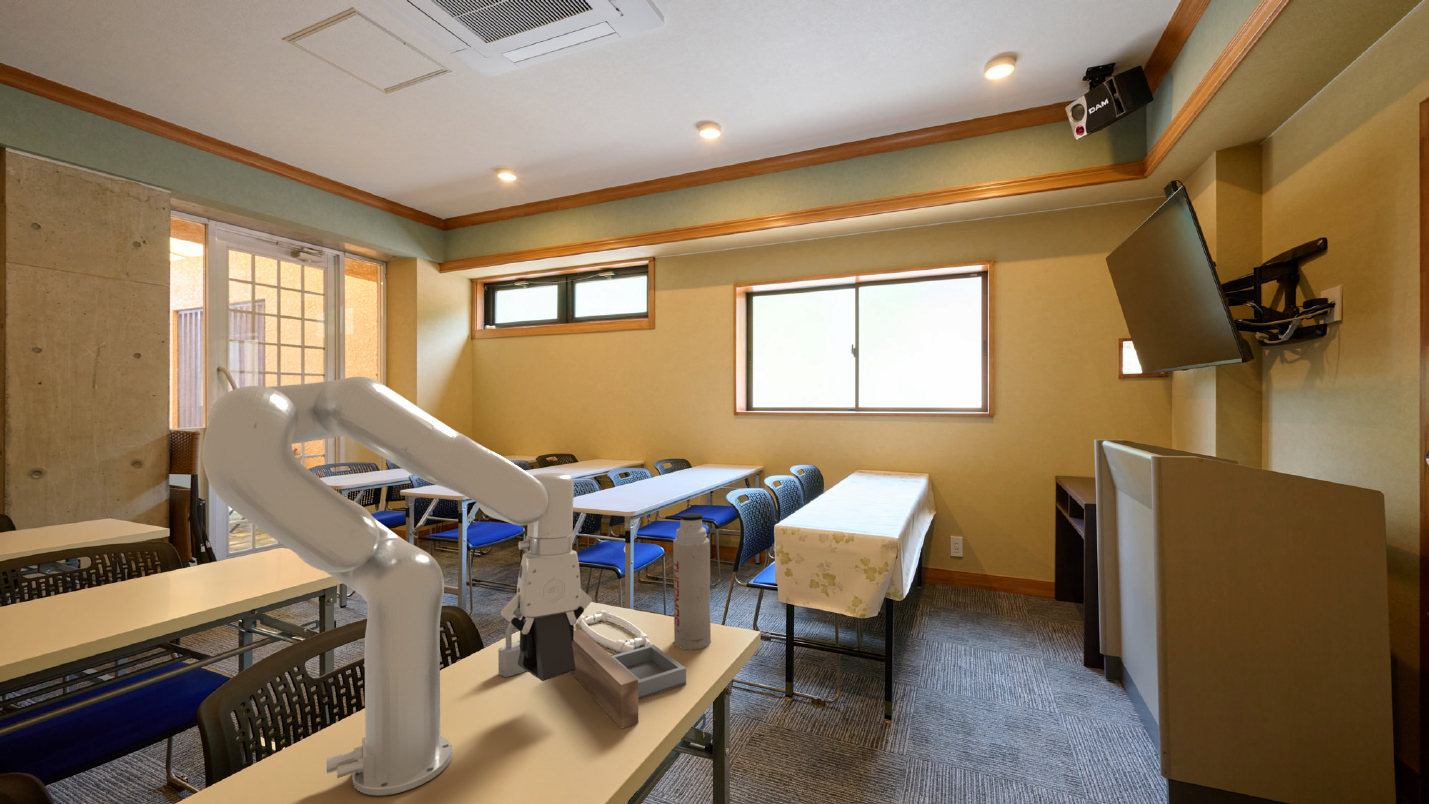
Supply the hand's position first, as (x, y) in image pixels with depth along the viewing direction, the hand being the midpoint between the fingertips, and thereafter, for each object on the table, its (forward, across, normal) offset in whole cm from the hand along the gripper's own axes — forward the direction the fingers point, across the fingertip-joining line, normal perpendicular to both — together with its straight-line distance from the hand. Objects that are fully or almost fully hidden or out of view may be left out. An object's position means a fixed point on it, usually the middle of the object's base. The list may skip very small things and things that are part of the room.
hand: (546, 649), depth 97 cm
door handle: (+10, +22, +23) cm, 34 cm away
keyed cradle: (+9, +19, 0) cm, 22 cm away
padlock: (+10, 0, +18) cm, 21 cm away
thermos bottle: (+9, +35, +9) cm, 38 cm away
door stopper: (+3, 0, 0) cm, 3 cm away
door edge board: (+10, +10, 0) cm, 14 cm away
